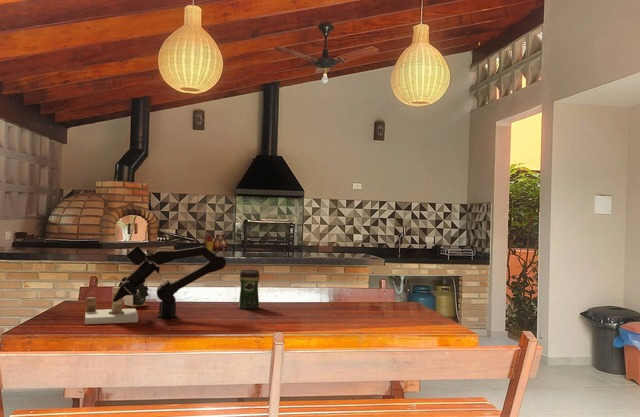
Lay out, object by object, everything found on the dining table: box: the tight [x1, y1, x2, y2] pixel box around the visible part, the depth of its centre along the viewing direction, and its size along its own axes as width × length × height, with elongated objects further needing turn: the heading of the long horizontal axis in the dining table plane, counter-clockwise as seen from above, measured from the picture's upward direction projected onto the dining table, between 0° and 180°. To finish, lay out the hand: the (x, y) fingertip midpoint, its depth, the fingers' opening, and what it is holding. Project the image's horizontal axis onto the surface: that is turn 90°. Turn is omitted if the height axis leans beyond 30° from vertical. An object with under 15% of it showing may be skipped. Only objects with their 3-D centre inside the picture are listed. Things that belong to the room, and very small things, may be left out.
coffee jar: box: [238, 268, 260, 310], centre depth 269 cm, size 10×8×19 cm
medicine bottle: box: [123, 289, 147, 308], centre depth 266 cm, size 7×7×12 cm
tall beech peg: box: [111, 286, 123, 314], centre depth 233 cm, size 4×4×13 cm
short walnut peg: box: [85, 296, 97, 313], centre depth 235 cm, size 4×4×6 cm
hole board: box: [84, 308, 139, 325], centre depth 233 cm, size 20×17×2 cm
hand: (113, 300), depth 233 cm, fingers open, 6 cm apart
